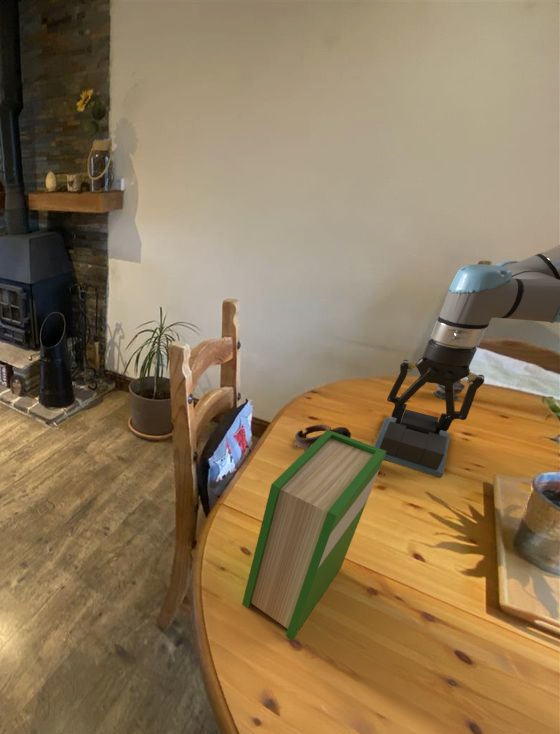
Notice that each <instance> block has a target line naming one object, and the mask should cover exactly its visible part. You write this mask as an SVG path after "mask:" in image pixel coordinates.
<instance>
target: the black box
mask: <svg viewBox="0 0 560 734" xmlns="http://www.w3.org/2000/svg"><path fill="white" fill-rule="evenodd" d="M438 421H439V417H438V416H434V415H430V414H427V413H423V412H418V411H415V410H410V409H407V408H405V411H404V413H403V416H402V419H401V422H400V424H401V425H405V426H406V428H407V429H410V430H414V431H418V432H421V433H425V434H429V432H431V433H434V434H435V431H436V427H437V423H438Z"/></svg>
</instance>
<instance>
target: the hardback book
mask: <svg viewBox="0 0 560 734" xmlns="http://www.w3.org/2000/svg"><path fill="white" fill-rule="evenodd" d="M321 434H322V435H321ZM321 434H320V435H321V436H320V437H319V438H318V439H317V440H316V441H315V442H314V443H313V444H312V445H311V446H310V447H309V448H308V449H307V450H306V451H304V452H303V453H302V454H301V455H300V456H298V457H297V458H296V460H295V461H294V462H292V464H290V466H288V468H286V470H284V471H283V472H282V473H281V474H280V475H279V476H278V477H277V478H276V479H275V480H274V481H273V482H271V485H270V488H269V492H268V496H267V500H266V505H265V509H264V513H263V518H262V522H261V526H260V529H259V534H258V537H257V542H256V546H255V550H254V554H253V558H252V562H251V567H250V570H249V574H248V579H247V583H246V586H245V590H244V595H243V599H242V604H241V605H243V606H244V607H245V608H246V609H249V608H250V606H252V605H253V606H254V607H256V608H257V609H258V610H260V611H262V612H263V613H264V614H266V615H267V616H269V618H271V619H273V620H274V621H275V622H277V623H278V624H280V625H281V626H283V627H284V628H285V629H287V630H286V633H285V636H286V637H287V638H288V639H289V640H290V641H293V640H294V639H295V637H296V636H297V634H298V633H299V631H300V630H301V629H302V627H303V625H304V624H305V622H306V621H307V619H308V618H309V616H310V615H311V613H312V612H313V610H314V609H315V608H316V606H317V605H318V603H319V602H320V600H321V599H322V598H323V596H324V594H325V592H326V591H327V590H328V588H329V587H330V585H331V584H332V582H333V581H334V579H335V578H336V576H337V575H338V573H339V572H340V571H341V569H342V567H343V563H344V561H345V559H346V556H347V553H348V551H349V548H350V546H351V543H352V540H353V538H354V535H355V533H356V530H357V528H358V525H359V523H360V520H361V517H362V515H363V513H364V511H365V507H366V505H367V502H368V500H369V497H370V495H371V492H372V489H373V487H374V484H375V482H376V479H377V477H378V474H379V472H380V469H381V466H382V465H383V462H384V460H383V459H384V457H385V454H386V452H387V451H385V450H382V449H379V448H377V447H374V446H373V445H372V444H368V443H366V442H362V441H360V440H357V439H354V438H352V437H351V438H349V437H346V436H343V435H341V434H338V433H335V432H332V431H330V430H327V431H323V433H321Z"/></svg>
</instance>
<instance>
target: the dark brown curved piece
mask: <svg viewBox="0 0 560 734" xmlns="http://www.w3.org/2000/svg"><path fill="white" fill-rule="evenodd" d="M304 429H305V431H303V430H298V431H297V432H296V433H295V442H294V445H295V447H296V448H298V449H301V450H303V451H304V452H305V451H306V450H307V449H308V448H309V447H310V446H311V445H312V444H313V443H314V442H315V441H316V440H317V439H318V438H319V437H320V436H321V435H322V434H323V433H321V434H319V435H316V436H313V437H307V436H308V435H310V434H313V433H317V432H326V431H327V430H330V431H332V432H335V433H338V434H341V435H343V436H346V437H349V438H352V433H351V431H350V430H349V428H347V427H344V426H339V427H335V428H333V429H332V427H331V426H330V425H328V424H323V423H322V424H314V425H310V426H306V427H305V428H304Z"/></svg>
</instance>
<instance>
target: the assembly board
mask: <svg viewBox="0 0 560 734" xmlns="http://www.w3.org/2000/svg"><path fill="white" fill-rule="evenodd" d="M396 419H397V418H394V417H392V414H391V415H390V417H385V419H384V421H383V424H382V426H381V429H380V431H379V433H378V436H377V438H376V441H375V443H374V447H377V448H379V449H382V450H385V451H387V452H386V454H385V457H384V459H383V461H386V462H387V461H388V462H389V463H393V464H395V465H400V466H402V467H404V468H405V467H406V468H409V469H412V470H415V471H419V472H422V473H424V474H427V475H430V476H434V477H437V478H441V479H442V477H443V475H444V471H445V465H446V460H447V454H448V448H449V443H450V436H451V434H450V433H448V430H447V431H442V430H440V432H439V434H434V433H431V432H429V434H425V433H421V432H418V431H414V430H410V429H407V428H406V426H405V425H401V424H400V423H399V424H398V423H395V422H396ZM401 419H402V418H401ZM400 422H401V421H400Z"/></svg>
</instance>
